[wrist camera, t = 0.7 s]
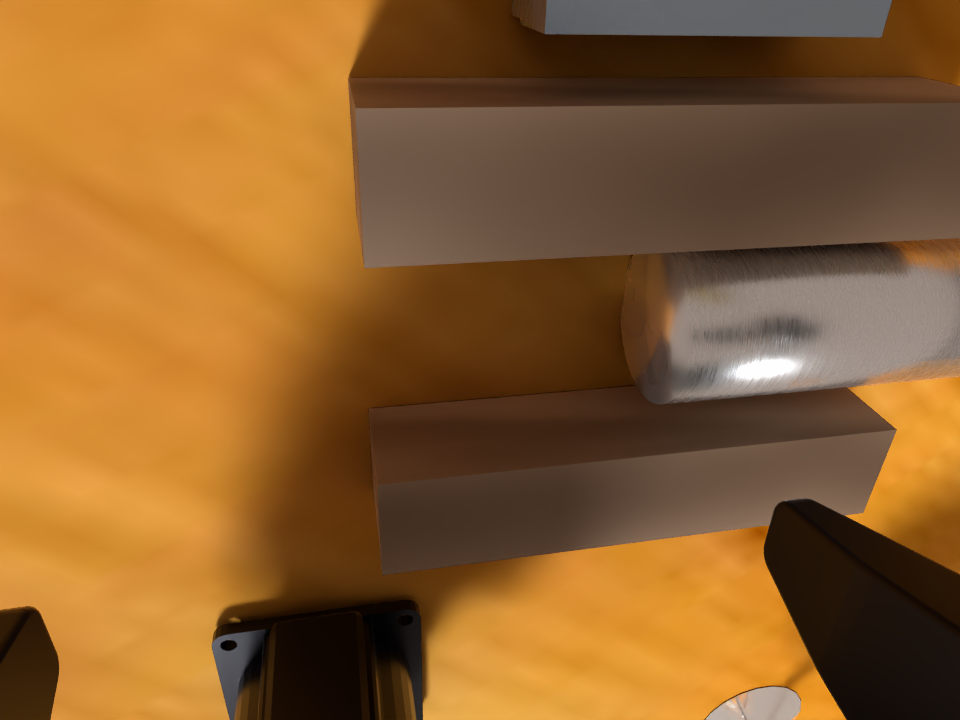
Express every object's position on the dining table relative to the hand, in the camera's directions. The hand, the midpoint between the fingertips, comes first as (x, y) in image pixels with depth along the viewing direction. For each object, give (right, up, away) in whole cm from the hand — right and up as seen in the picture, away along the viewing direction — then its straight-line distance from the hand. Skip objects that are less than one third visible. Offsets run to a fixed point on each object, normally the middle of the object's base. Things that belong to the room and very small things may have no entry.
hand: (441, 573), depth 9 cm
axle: (+10, +4, +10) cm, 14 cm away
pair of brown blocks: (+4, +4, +11) cm, 12 cm away
